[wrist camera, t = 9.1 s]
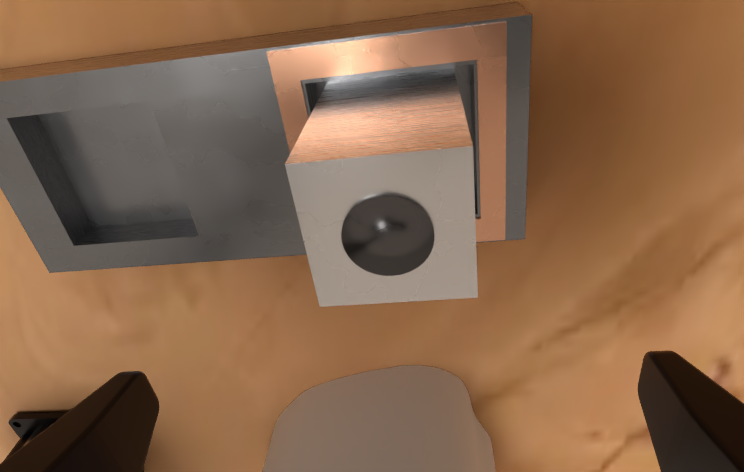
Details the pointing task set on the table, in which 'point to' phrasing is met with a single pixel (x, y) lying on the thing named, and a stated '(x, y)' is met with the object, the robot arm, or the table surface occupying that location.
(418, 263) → the block
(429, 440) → the lumpy-topped squat cylinder
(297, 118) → the grey flat block
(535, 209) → the table surface
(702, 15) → the table surface
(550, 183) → the table surface
